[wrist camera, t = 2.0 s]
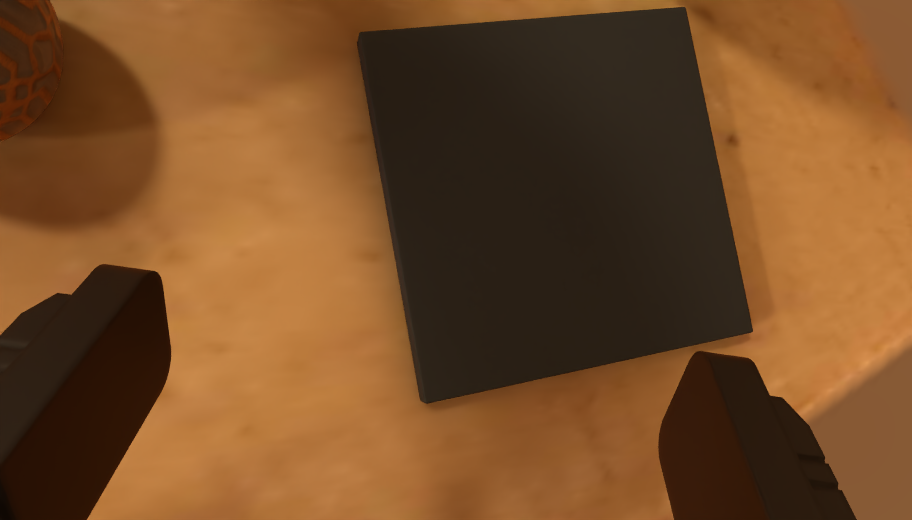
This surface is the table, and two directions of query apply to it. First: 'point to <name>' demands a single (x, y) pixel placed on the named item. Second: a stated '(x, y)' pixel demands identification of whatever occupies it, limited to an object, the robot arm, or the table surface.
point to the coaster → (550, 195)
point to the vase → (27, 62)
